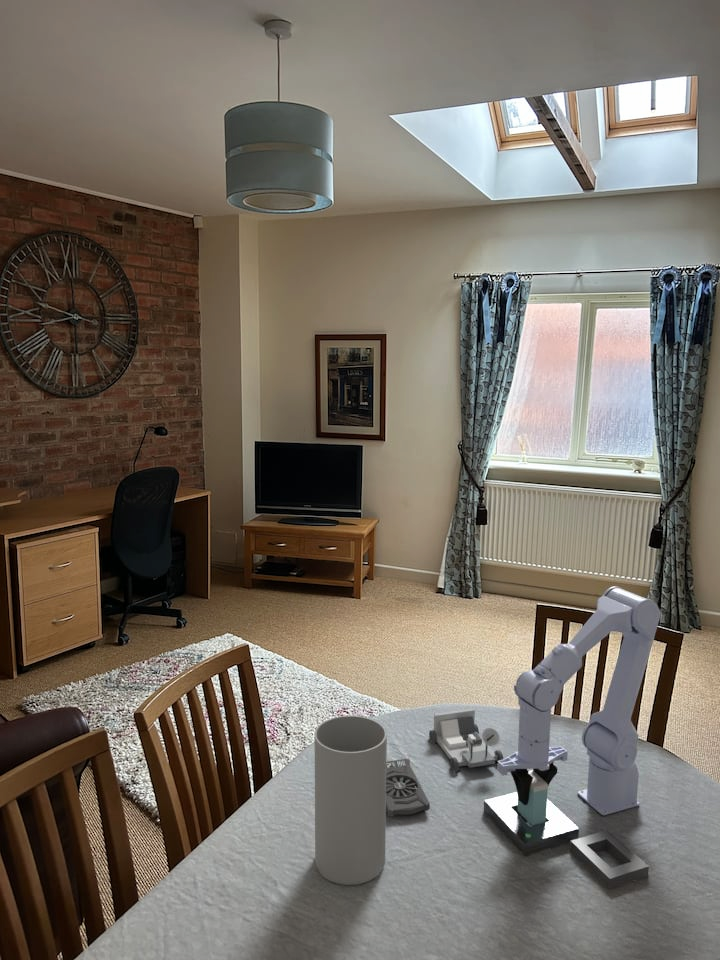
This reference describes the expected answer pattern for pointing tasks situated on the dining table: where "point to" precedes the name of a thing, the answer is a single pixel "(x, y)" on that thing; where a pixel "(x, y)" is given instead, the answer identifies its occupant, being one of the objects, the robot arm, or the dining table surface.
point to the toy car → (464, 739)
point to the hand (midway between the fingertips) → (530, 800)
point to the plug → (535, 801)
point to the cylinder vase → (350, 799)
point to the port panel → (524, 836)
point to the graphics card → (403, 790)
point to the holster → (607, 875)
